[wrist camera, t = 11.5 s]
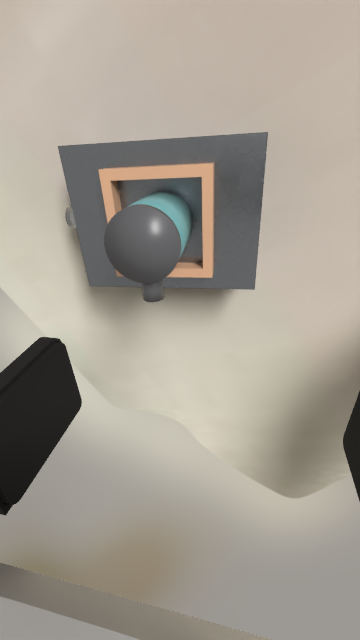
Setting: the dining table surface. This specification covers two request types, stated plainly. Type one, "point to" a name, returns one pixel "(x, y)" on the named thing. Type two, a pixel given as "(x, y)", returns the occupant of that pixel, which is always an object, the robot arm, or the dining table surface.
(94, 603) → the robot arm
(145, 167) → the grey box
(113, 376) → the dining table surface
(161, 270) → the cylinder
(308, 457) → the dining table surface
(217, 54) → the dining table surface
